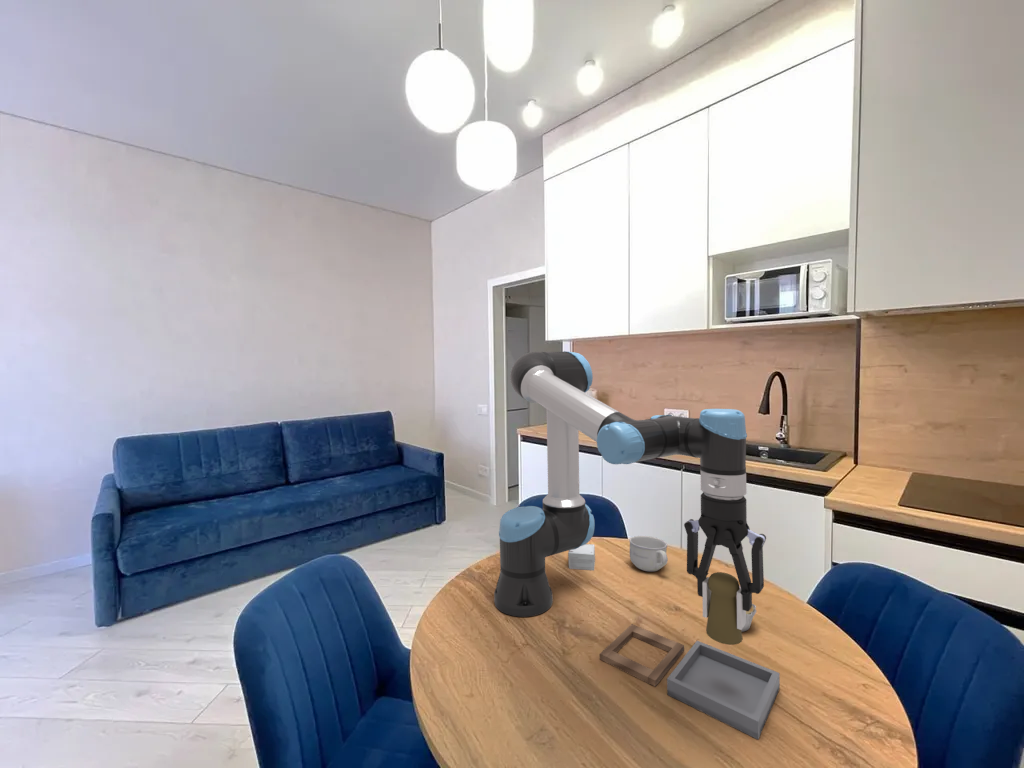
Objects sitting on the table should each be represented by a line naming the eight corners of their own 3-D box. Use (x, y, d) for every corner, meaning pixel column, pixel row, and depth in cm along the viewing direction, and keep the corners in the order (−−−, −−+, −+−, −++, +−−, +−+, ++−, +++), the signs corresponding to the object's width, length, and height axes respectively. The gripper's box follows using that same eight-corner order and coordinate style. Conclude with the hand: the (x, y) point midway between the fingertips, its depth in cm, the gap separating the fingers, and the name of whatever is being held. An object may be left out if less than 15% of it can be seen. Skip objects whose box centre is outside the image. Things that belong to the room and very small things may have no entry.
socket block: (599, 659, 91) (599, 653, 91) (631, 629, 101) (631, 623, 101) (655, 686, 83) (655, 680, 83) (684, 650, 93) (684, 645, 93)
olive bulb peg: (747, 646, 77) (746, 584, 77) (710, 642, 79) (709, 582, 78) (736, 626, 83) (736, 569, 83) (702, 623, 84) (702, 567, 84)
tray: (667, 694, 81) (667, 678, 81) (697, 654, 92) (697, 640, 92) (758, 739, 71) (758, 721, 71) (779, 688, 82) (779, 672, 82)
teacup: (624, 560, 137) (624, 535, 137) (657, 558, 139) (657, 533, 138) (642, 582, 124) (642, 553, 123) (679, 579, 125) (679, 551, 124)
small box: (595, 560, 139) (595, 544, 138) (594, 571, 131) (594, 554, 131) (570, 558, 140) (570, 542, 140) (568, 569, 133) (567, 552, 132)
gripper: (665, 490, 84) (667, 611, 84) (775, 509, 71) (775, 650, 72) (681, 482, 89) (682, 595, 90) (785, 498, 77) (785, 629, 77)
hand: (724, 619), depth 81 cm, fingers closed on olive bulb peg, 5 cm apart
